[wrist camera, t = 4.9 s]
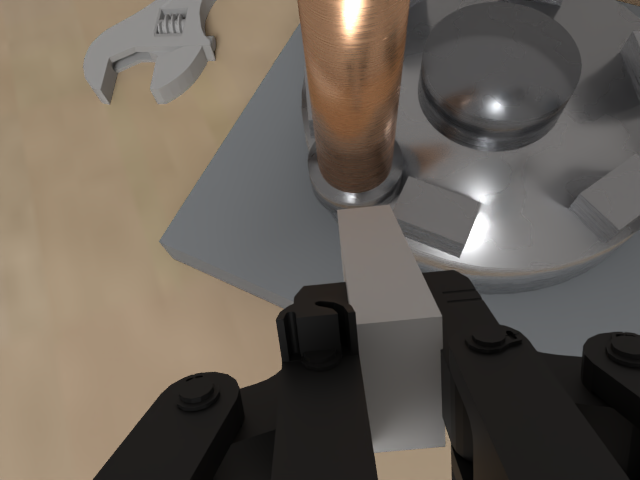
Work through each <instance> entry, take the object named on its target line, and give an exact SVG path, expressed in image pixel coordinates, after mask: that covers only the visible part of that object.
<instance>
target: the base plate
mask: <svg viewBox="0 0 640 480" xmlns="http://www.w3.org/2000/svg"><path fill="white" fill-rule="evenodd" d="M617 2H619V3H620V4H622V5H623V6H625V7H626V8H627V9H628V10H630V11H631V12H632V13H633V14H635V15H636V16H637V17H638V18H640V6H636V5H632V4H628V3H624V2H620V1H617ZM304 66H306V63H305V55H304V48H303V40H302V32H301V24H299V25H298V27H297V28H296V30H295V31H294V33H293V35H292V36H291V38H290V39H289V41H288V42H287V44H286V45H285V47H284V48H283V50H282V52H281V53H280V55H279V56H278V58H277V59H276V61H275V62H274V64H273V66H272V67H271V69H270V70H269V72H268V73H267V75H266V76H265V78H264V79H263V81H262V83H261V84H260V86H259V87H258V89H257V90H256V92H255V93H254V95H253V97H252V98H251V100H250V101H249V103H248V104H247V106H246V107H245V109H244V110H243V112H242V114H241V115H240V117H239V118H238V120H237V121H236V123H235V124H234V126H233V128H232V129H231V131H230V132H229V134H228V135H227V137H226V138H225V140H224V141H223V143H222V145H221V146H220V148H219V149H218V151H217V152H216V154H215V155H214V157H213V159H212V160H211V162H210V163H209V165H208V166H207V168H206V169H205V171H204V172H203V174H202V176H201V177H200V179H199V180H198V182H197V183H196V185H195V186H194V188H193V189H192V191H191V193H190V194H189V196H188V197H187V199H186V200H185V202H184V203H183V205H182V207H181V208H180V210H179V211H178V213H177V214H176V216H175V217H174V219H173V220H172V222H171V224H170V225H169V227H168V228H167V230H166V231H165V233H164V234H163V236H162V238H161V239H160V241H159V242H160V243H161V245H162V246H163V247H164V248H165V249H166V251H167V252H168V253H169V254H170V255H171V257H172V258H173V259H176V260H178V261H180V262H182V263H184V264H187V265H189V266H191V267H193V268H195V269H198V270H200V271H202V272H204V273H206V274H209V275H211V276H213V277H215V278H218V279H220V280H222V281H224V282H226V283H229V284H231V285H233V286H235V287H237V288H240V289H242V290H244V291H246V292H248V293H251V294H253V295H255V296H257V297H260V298H262V299H264V300H266V301H268V302H271V303H273V304H275V305H277V306H279V307H282V308H284V309H285V308H286V307H288V306H289V305H292V304H294V296H295V295H296V294H297V293H298V292H299V291H300V289H301V288H302V287H303V286H308V285H319V284H329V283H339V282H344V277H343V267H342V257H341V246H340V236H339V225H338V224H337V222H336V221H335V219H334V218H333V216H332V215H331V214H330V212H329V211H328V209H326V208H325V207H324V206H323V205H322V204H321V203H320V202H319V201H318V200H317V198H316V197H315V195H314V193H313V191H312V188H311V183H310V176H309V170H308V150H307V144H306V137H305V131H304V124H303V118H302V87H303V81H304V75H305V74H304ZM480 296H481V297H482V300H484V302H485V303H486V305H487V306H488V308H489V309H490V311H491V312H492V314H493V315H494V317H495V318H496V320H497V321H498V323H499V324H500V325H505V326H508V327H511V328H513V329H515V330H518V331H520V332H521V333H522V334H523V335H524V336H525V337H527V338H528V340H529V341H530V342H531V344H532V345H533V346H534V348H535V349H536V351H538V352H543V353H549V354H556V355H567V356H578V357H582V352H583V345H584V343H585V342H586V341H587V339H588V338H590V337H592V336H595V335H597V334H600V333H609V332H623V333H625V332H631V333H635V334H637V335H640V229H639V230H638V231H637V232H636V233H634V234H633V235H632V236H631V237H630V238H629V239H628V240H627V241H625V242H624V243H623V244H622V245H621V246H620V247H619V248H617V249H616V250H615V251H614V252H613V253H612V254H611V255H610V256H608V257H607V258H606V259H605V260H604V261H602V262H601V263H599V264H598V265H596V266H594V267H593V268H591V269H590V270H588V271H587V272H585V273H583V274H581V275H579V276H577V277H574V278H572V279H570V280H568V281H565V282H563V283H560V284H557V285H554V286H550V287H547V288H543V289H540V290H535V291H528V292H522V293H516V294H492V295H486V294H480Z"/></svg>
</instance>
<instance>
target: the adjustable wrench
mask: <svg viewBox="0 0 640 480" xmlns="http://www.w3.org/2000/svg"><path fill="white" fill-rule="evenodd" d="M215 1H216V0H156V1H154V2H153V3H151V4H150V5H148V6H147V7H145V8H144V9H142V10H140V11H139V12H137V13H136V14H134V15H132V16H130V17H129V18H127V19H125V20H123V21H121V22H120V23H118V24H116V25H114V26H112V27H111V28H109V29H107V30H106V31H104V32H103V33H102V34H100V35H99V36H98V37H97V38H96V39H95V40H94V41H93V43H92V44H91V45H90V47H89V48H88V51H87V53H86V55H85V58H84V65H83V68H84V74H85V79H86V80H87V82H88V83H89V84H90V86H91V87H92V89H93V90H94V92H95V93H96V95H97V96H98V98H99V99H100V101H101V102H102V103H104V104H110V102H111V98H112V94H113V90H114V86H115V82H116V78H117V74H118V73H119V72H121V71H123V70H125V69H128V68H130V67H132V66H134V65H136V64H139V63H141V62H156V63H155V68H154V72H153V77H152V82H151V86H150V90H151V92H152V94H153V96H154V98H155V100H156V102H157V103H158V104H167V103H169V102H170V101H172V100H174V99H176V98H177V97H178V96H180V95H181V94H183V93H184V92H185V91H186V90H187V89H189V88H190V87H191V86H192V85H193V84H194V82H195V81H196V80H197V79H198V77H199V76H200V74H201V73H202V71H203V69H204V68H205V66H206V64H207V62H208V61H216V60H215V55H214V52H213V51H215V49H216V41H215V38H214V36H206V35H205V21H206V18H207V15H208V13H209V11H210V9H211V7H212V6H213V4H214V3H215Z"/></svg>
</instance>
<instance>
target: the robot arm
mask: <svg viewBox="0 0 640 480" xmlns="http://www.w3.org/2000/svg"><path fill="white" fill-rule="evenodd" d="M337 215H338V225H339V236H340V246H341V257H342V267H343V277H344V282H339V283H329V284H319V285H308V286H303V287H302V288H301V289H300V291H299V292H298V293H297V294H296V295H295V296H294V304H292V305H289V306H288V307H286V308H285V309H284V310H282V311H281V312H280V313H279V315H278V317H277V319H276V323H277V330H278V337H279V343H280V350H281V357H282V370H280V371H279V372H278V373H277V374H276V375H274V376H272V377H271V378H269V379H267V380H265V381H262V382H260V383H257V384H254V385H251V386H248V387H244V388H241V389H240V388H239V386H238V383H237V381H236V380H235V379H234V378H232V377H231V376H229V375H228V374H223V373H218V372H206V373H197V374H195V375H190V376H187V377H185V378H183V379H181V380H179V381H177V382H175V383H173V384H171V385H170V386H169V387H168V388H167V389H166V390H165V391H164V392H163V393H161V395H160V396H159V397H158V398H157V400H156V401H155V402H154V403H153V405H152V406H151V407H150V408H149V410H148V411H147V412H146V413H145V415H144V416H143V417H142V418H141V420H140V421H139V422H138V423H137V425H136V426H135V427H134V428H133V430H132V431H131V432H130V433H129V435H128V436H127V437H126V438H125V440H124V441H123V442H122V443H121V445H120V446H119V447H118V449H117V450H116V451H115V452H114V454H113V455H112V456H111V457H110V459H109V460H108V461H107V462H106V464H105V465H104V466H103V467H102V469H101V470H100V471H99V472H98V474H97V475H96V476H95V477H94V479H93V480H378V477H377V470H376V464H375V457H374V453H378V452H389V451H400V450H411V449H423V448H434V447H445V426H446V429H447V432H448V435H449V438H450V441H451V465H452V480H640V335H637V334H635V333H631V332H625V333H623V332H609V333H600V334H597V335H595V336H592V337H590V338H588V339H587V341H586V342H585V343H584V345H583V352H582V357H578V356H567V355H556V354H549V353H543V352H538V351H536V349H535V348H534V346H533V345H532V344H531V342H530V341H529V340H528V338H527V337H525V336H524V335H523V334H522V333H521V332H520V331H518V330H515V329H513V328H511V327H508V326H505V325H500V324H499V323H498V321H497V320H496V318H495V317H494V315H493V314H492V312H491V311H490V309H489V308H488V306H487V305H486V303H485V302H484V300H482V297H481V296H480V294H479V293H478V291H476V288H475V287H474V285H473V284H472V282H471V281H470V279H469V278H468V277H466V276H464V275H462V274H461V273H459V272H457V271H455V270H445V271H435V272H425V273H422V272H421V270H420V268H419V266H418V264H417V262H416V260H415V258H414V255H413V253H412V251H411V249H410V247H409V245H408V243H407V241H406V239H405V236H404V234H403V232H402V230H401V228H400V226H399V224H398V222H397V219H396V217H395V215H394V213H393V211H392V209H391V207H390V205H380V206H370V207H361V208H351V209H341V210H337Z"/></svg>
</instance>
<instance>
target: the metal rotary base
mask: <svg viewBox="0 0 640 480" xmlns="http://www.w3.org/2000/svg"><path fill="white" fill-rule="evenodd" d="M298 8H299V16H300V24H301V32H302V40H303V48H304V55H305V63H306V66H304V74H305V75H304V81H303V87H302V118H303V124H304V131H305V137H306V144H307V150H308V170H309V176H310V183H311V188H312V191H313V193H314V195H315V197H316V198H317V200H318V201H319V202H320V203H321V204H322V205H323V206H324V207H325V208H326V209H328V211H329V212H330V214H331V215H332V216H333V218H334V219H335V221H336V222H337V224H338V215H337V210H341V209H351V208H361V207H370V206H380V205H390V207H391V209H392V211H393V213H394V215H395V217H396V219H397V222H398V224H399V226H400V228H401V230H402V232H403V234H404V236H405V239H406V241H407V243H408V245H409V247H410V249H411V251H412V253H413V255H414V258H415V260H416V262H417V264H418V266H419V268H420V270H421V272H422V273H425V272H435V271H445V270H455V271H457V272H459V273H461V274H462V275H464V276H466V277H468V278H469V279H470V281H471V282H472V284H473V285H474V287H475V288H476V291H478V293H479V294H486V295H492V294H516V293H522V292H528V291H535V290H540V289H543V288H547V287H550V286H554V285H557V284H560V283H563V282H565V281H568V280H570V279H572V278H574V277H577V276H579V275H581V274H583V273H585V272H587V271H588V270H590V269H591V268H593V267H594V266H596V265H598V264H599V263H601V262H602V261H604V260H605V259H606V258H607V257H608V256H610V255H611V254H612V253H613V252H614V251H615V250H616V249H617V248H619V247H620V246H621V245H622V244H623V243H624V242H625V241H627V240H628V239H629V238H630V237H631V236H632V235H633V234H634V233H636V232H637V231H638V230H639V229H640V18H638V17H637V16H636V15H635V14H633V13H632V12H631V11H630V10H628V9H627V8H626V7H625V6H623V5H622V4H620V3H619V2H617V1H616V0H298Z"/></svg>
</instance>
